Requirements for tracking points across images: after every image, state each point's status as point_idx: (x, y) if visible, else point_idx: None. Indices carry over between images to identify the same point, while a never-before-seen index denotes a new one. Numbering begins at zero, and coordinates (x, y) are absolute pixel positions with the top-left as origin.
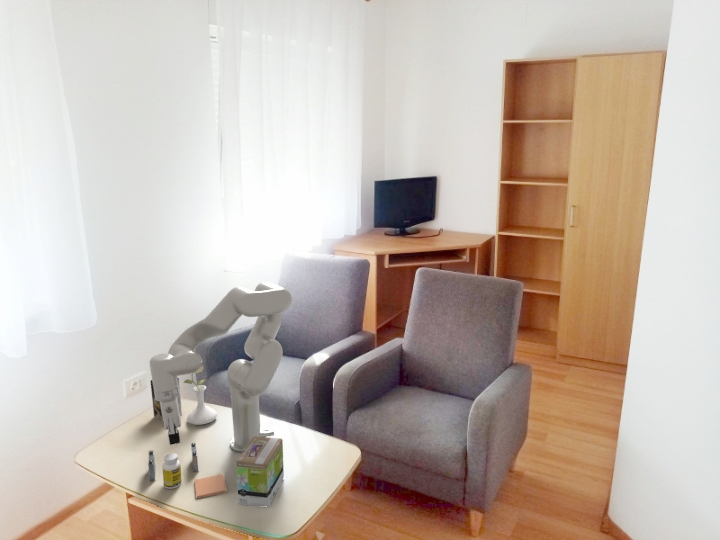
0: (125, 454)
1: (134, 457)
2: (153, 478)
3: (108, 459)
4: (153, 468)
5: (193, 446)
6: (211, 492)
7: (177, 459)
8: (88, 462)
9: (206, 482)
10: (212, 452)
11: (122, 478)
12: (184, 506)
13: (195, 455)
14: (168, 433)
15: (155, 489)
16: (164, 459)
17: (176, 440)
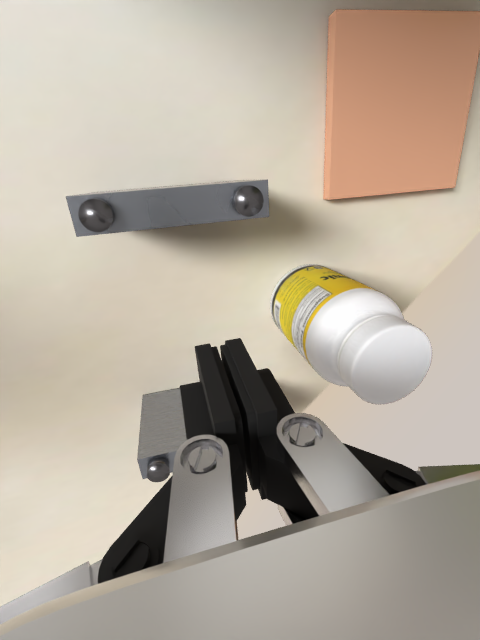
0: (7, 531)
1: (39, 493)
2: None
3: (46, 568)
4: None
5: (121, 213)
6: (466, 106)
7: (395, 316)
8: None
9: (376, 132)
10: (12, 73)
11: None
12: (465, 236)
13: (265, 192)
14: (263, 496)
15: None
16: (394, 397)
17: (270, 377)
